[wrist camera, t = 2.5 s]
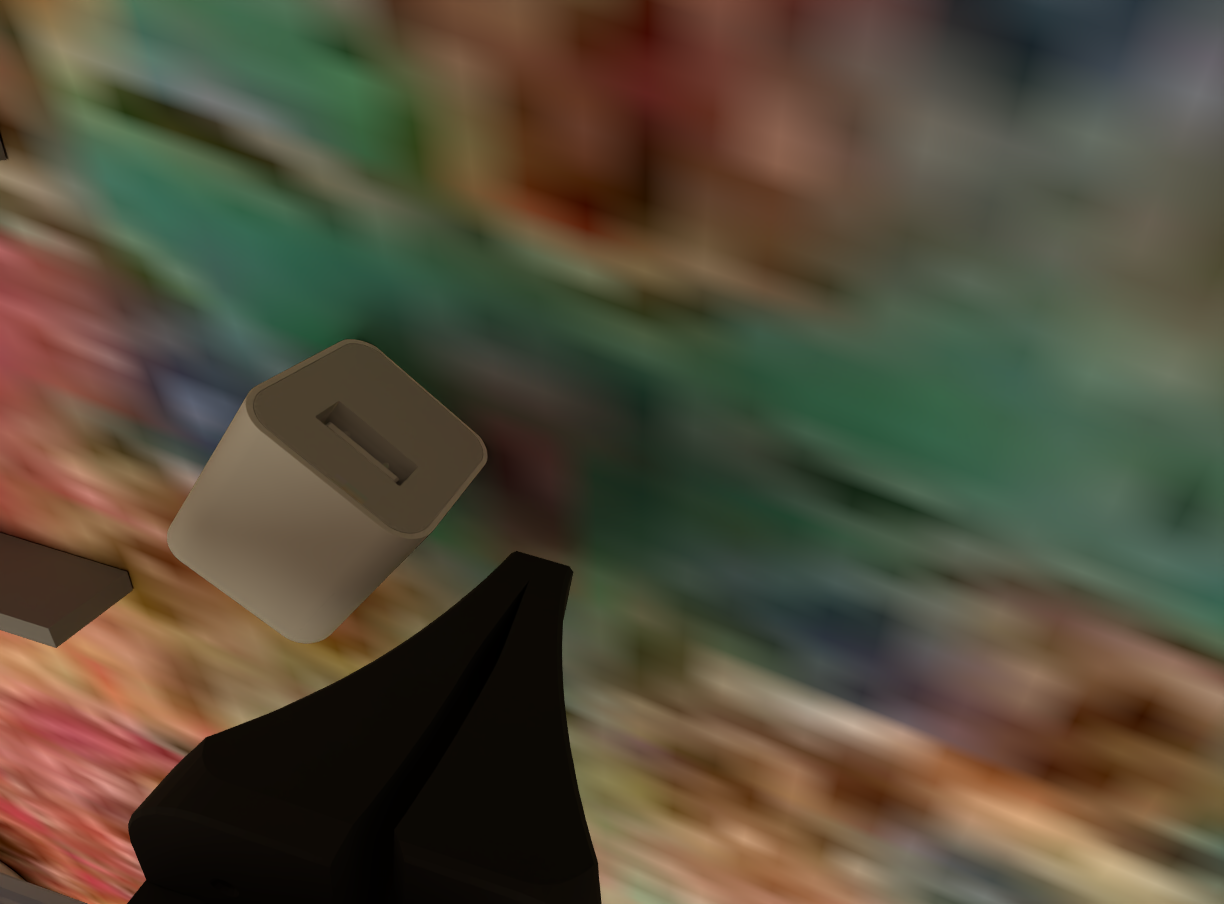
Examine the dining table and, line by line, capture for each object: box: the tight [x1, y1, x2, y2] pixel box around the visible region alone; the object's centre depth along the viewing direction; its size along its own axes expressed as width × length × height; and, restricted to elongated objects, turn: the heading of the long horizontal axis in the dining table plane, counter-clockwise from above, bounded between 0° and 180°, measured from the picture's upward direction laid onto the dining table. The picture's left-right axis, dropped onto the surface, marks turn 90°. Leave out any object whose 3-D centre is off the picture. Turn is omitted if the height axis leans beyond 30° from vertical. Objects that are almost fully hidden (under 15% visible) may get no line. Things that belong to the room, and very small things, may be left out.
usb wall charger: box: [167, 339, 487, 643], centre depth 14 cm, size 4×7×4 cm, turn 138°
